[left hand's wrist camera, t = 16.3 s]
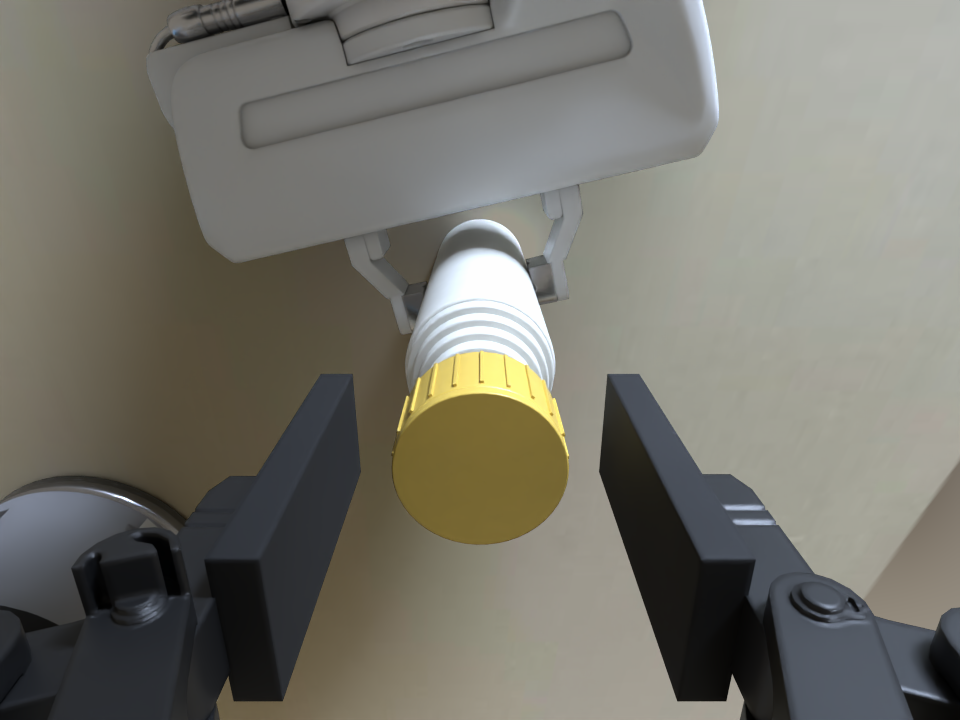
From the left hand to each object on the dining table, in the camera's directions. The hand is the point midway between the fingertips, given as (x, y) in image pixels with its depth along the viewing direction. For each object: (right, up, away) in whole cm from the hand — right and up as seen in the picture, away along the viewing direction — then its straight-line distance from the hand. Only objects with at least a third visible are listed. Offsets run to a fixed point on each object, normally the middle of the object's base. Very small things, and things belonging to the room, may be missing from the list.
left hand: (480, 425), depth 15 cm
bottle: (0, +7, +17) cm, 18 cm away
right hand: (0, +4, +12) cm, 12 cm away
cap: (0, -1, -2) cm, 2 cm away
